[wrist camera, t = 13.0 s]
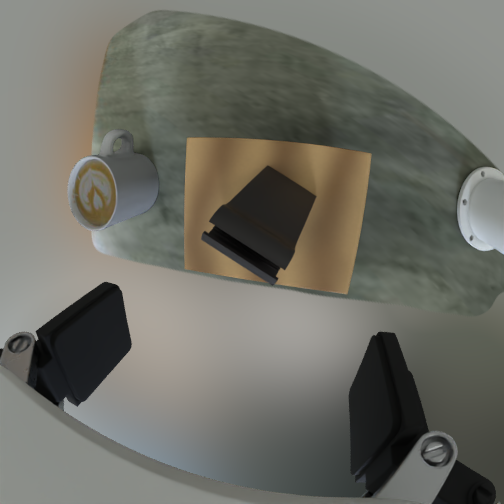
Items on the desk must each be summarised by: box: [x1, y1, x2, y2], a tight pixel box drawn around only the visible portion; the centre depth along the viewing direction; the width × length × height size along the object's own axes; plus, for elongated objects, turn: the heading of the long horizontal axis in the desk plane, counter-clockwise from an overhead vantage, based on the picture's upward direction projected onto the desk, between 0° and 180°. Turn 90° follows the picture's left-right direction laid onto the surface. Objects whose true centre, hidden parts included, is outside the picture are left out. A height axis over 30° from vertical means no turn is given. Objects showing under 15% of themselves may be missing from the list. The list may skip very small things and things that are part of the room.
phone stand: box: [201, 165, 317, 285], centre depth 24 cm, size 9×6×12 cm, turn 149°
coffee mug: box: [68, 129, 159, 231], centre depth 34 cm, size 13×10×10 cm
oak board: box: [184, 137, 371, 294], centre depth 30 cm, size 20×16×1 cm
